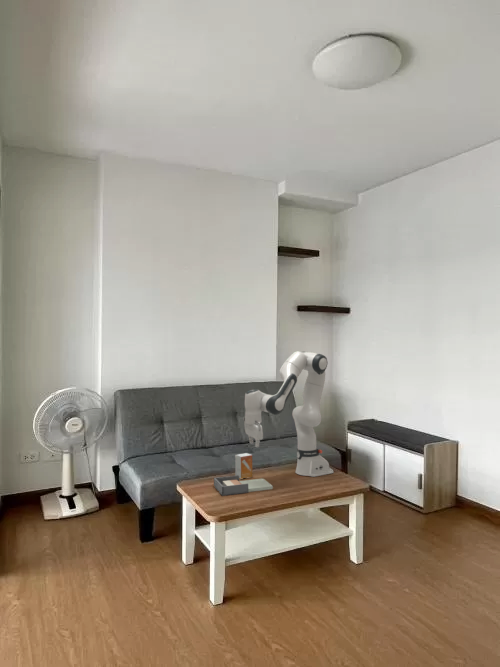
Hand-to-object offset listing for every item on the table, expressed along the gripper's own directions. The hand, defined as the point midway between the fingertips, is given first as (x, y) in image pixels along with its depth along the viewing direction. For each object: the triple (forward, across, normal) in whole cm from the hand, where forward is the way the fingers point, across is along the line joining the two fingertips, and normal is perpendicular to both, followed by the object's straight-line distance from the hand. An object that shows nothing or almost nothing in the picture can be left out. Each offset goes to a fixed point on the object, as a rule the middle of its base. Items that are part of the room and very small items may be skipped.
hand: (254, 445), depth 254 cm
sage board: (+22, 0, 0) cm, 22 cm away
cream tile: (+21, 0, +15) cm, 26 cm away
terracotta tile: (+21, 0, +11) cm, 24 cm away
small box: (+22, +19, +1) cm, 29 cm away
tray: (+22, 0, +14) cm, 26 cm away
